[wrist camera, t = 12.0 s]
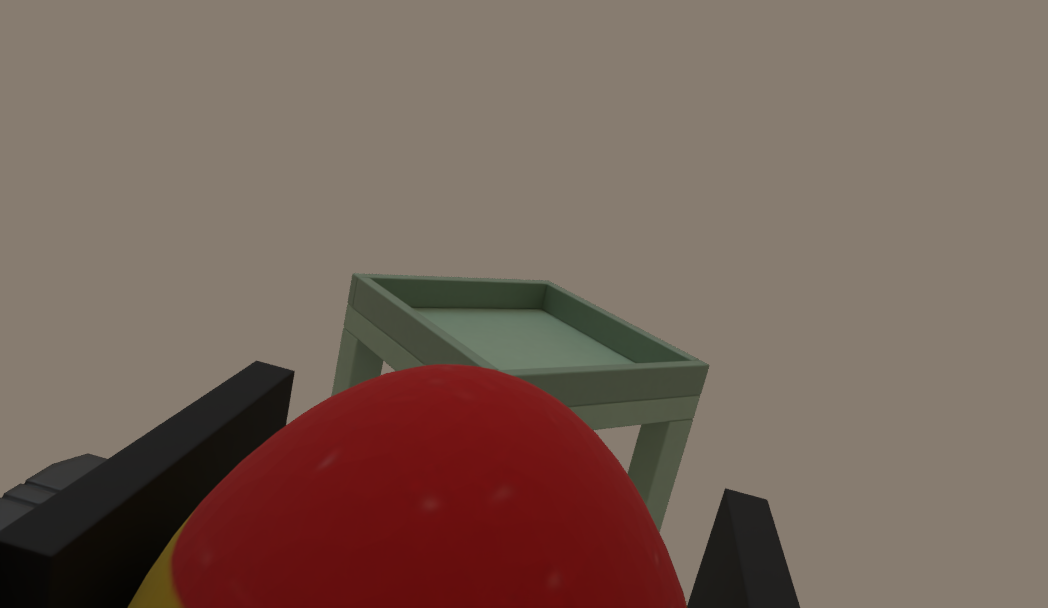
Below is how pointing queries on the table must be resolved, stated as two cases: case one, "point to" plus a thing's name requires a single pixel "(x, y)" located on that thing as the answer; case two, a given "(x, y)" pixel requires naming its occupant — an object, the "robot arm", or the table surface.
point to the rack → (533, 356)
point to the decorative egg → (422, 508)
